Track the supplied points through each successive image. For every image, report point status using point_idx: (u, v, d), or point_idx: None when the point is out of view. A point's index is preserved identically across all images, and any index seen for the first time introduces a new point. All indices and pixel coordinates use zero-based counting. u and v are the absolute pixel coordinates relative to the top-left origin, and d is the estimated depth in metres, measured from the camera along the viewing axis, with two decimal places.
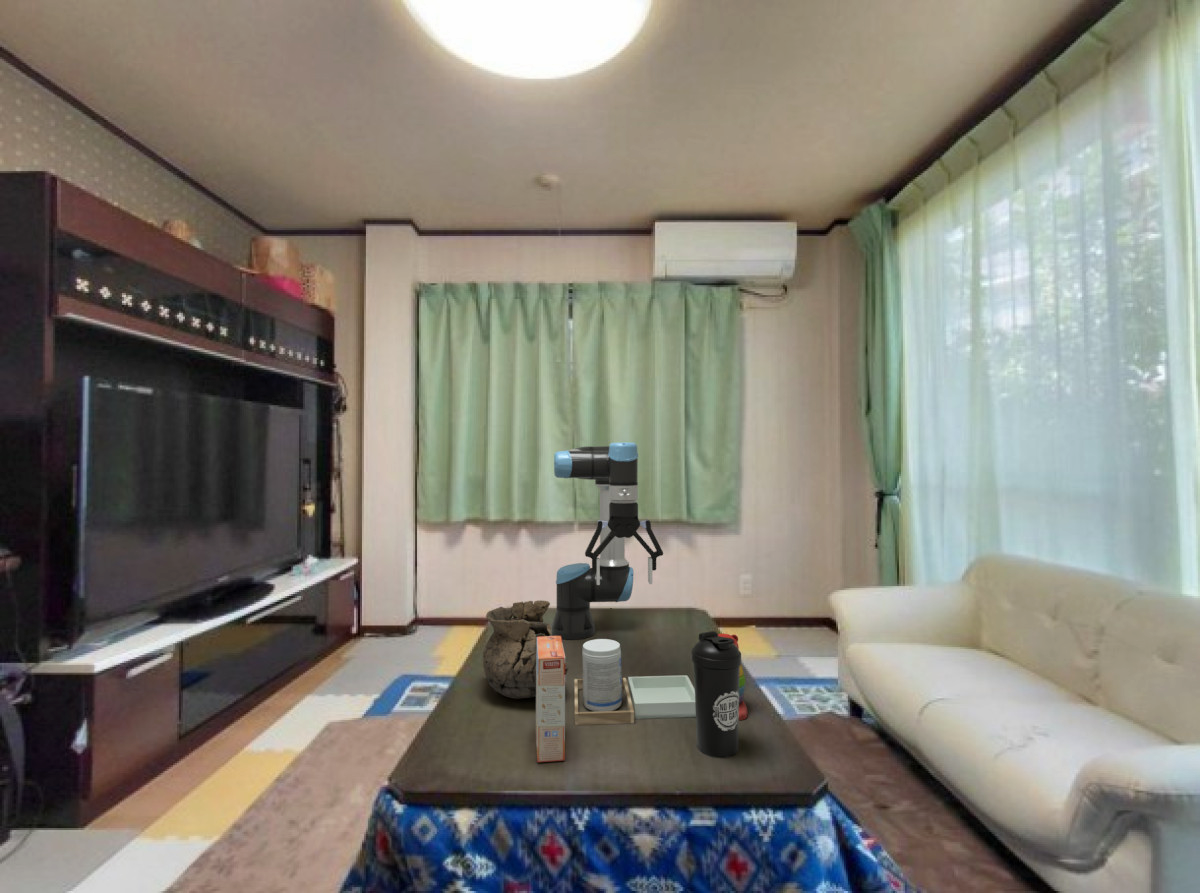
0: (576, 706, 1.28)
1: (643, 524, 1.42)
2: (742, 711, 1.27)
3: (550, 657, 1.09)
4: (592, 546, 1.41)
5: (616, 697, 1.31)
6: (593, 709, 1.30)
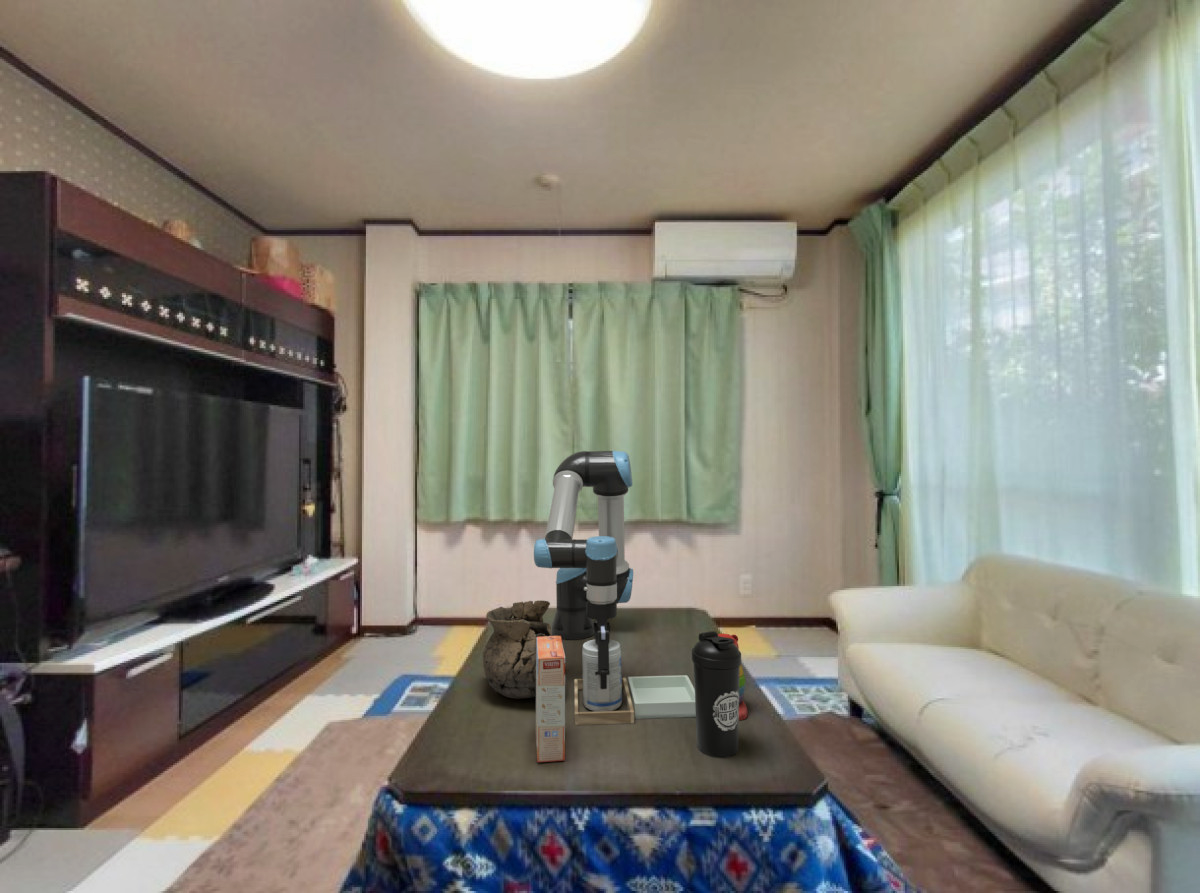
0: (576, 706, 1.28)
1: None
2: (742, 711, 1.27)
3: (550, 657, 1.09)
4: None
5: (616, 696, 1.31)
6: (593, 709, 1.30)
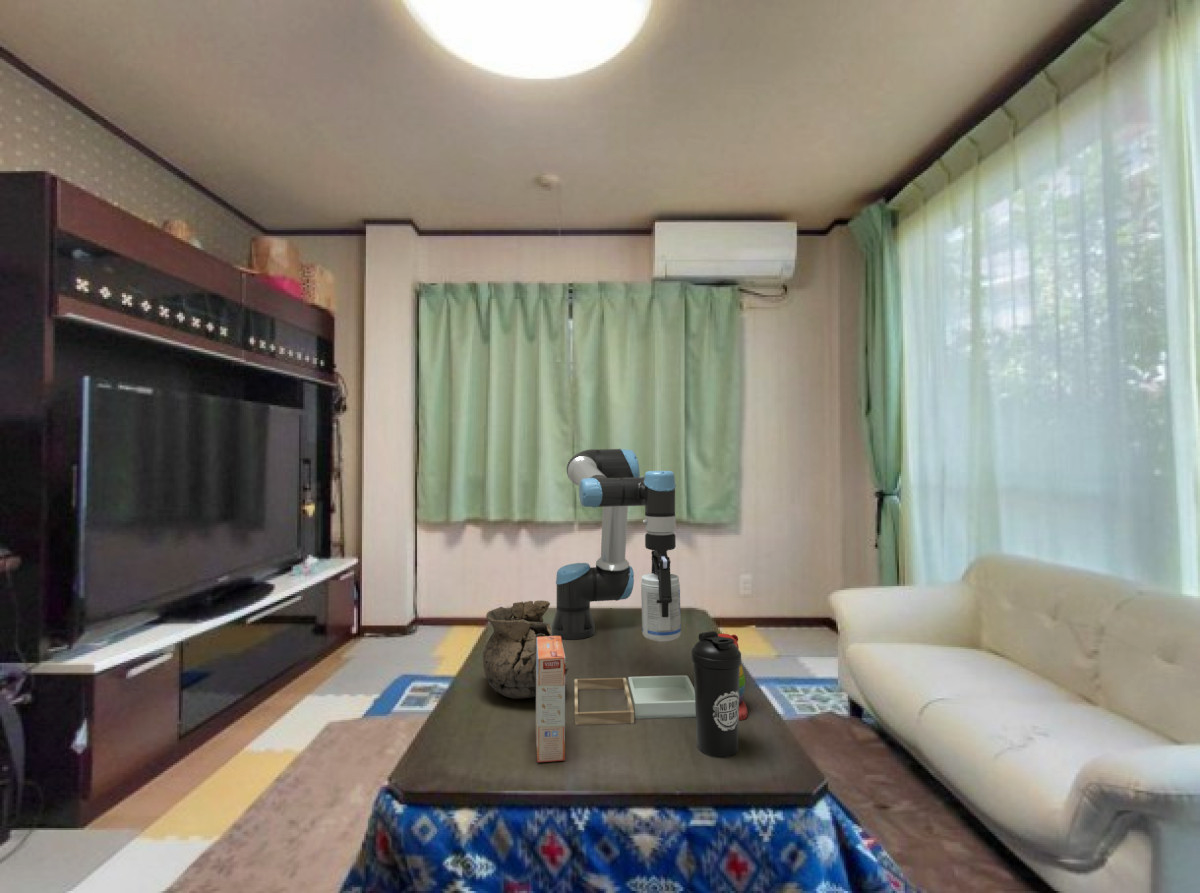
0: (576, 706, 1.28)
1: None
2: (742, 711, 1.27)
3: (550, 657, 1.09)
4: None
5: (676, 626, 1.32)
6: (654, 638, 1.31)
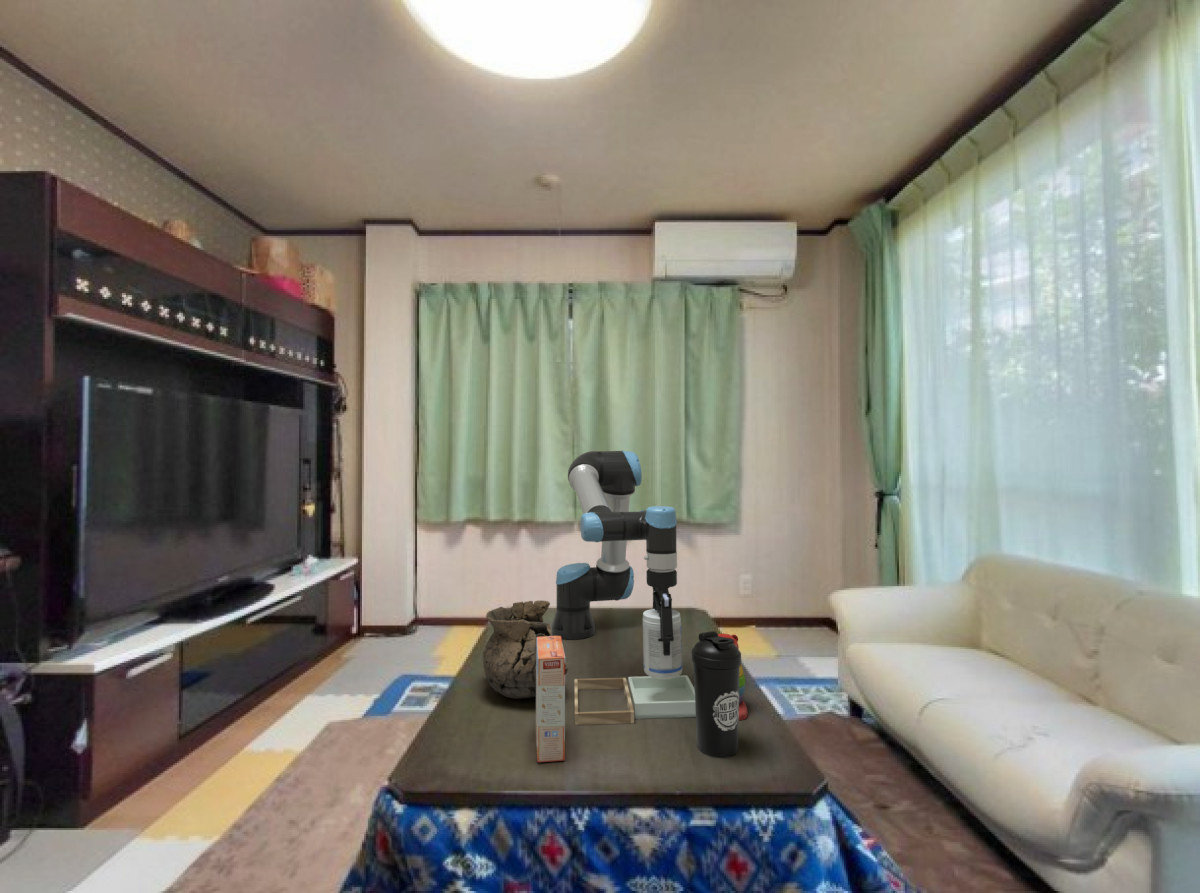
0: (576, 706, 1.28)
1: None
2: (742, 712, 1.27)
3: (550, 657, 1.09)
4: None
5: (677, 664, 1.32)
6: (655, 676, 1.31)
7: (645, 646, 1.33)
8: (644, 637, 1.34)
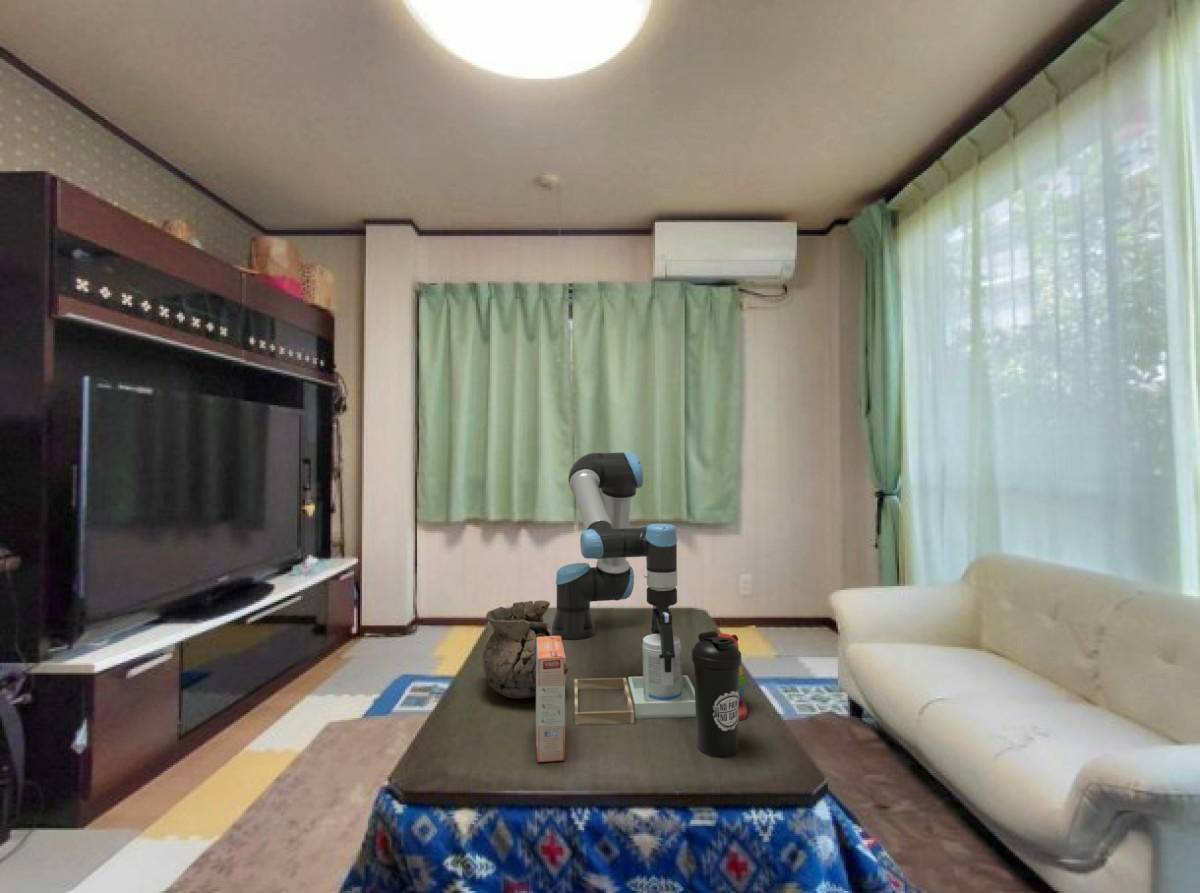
0: (576, 706, 1.28)
1: None
2: (742, 712, 1.27)
3: (550, 657, 1.09)
4: (652, 623, 1.43)
5: (677, 690, 1.32)
6: None
7: (645, 672, 1.34)
8: (644, 663, 1.34)
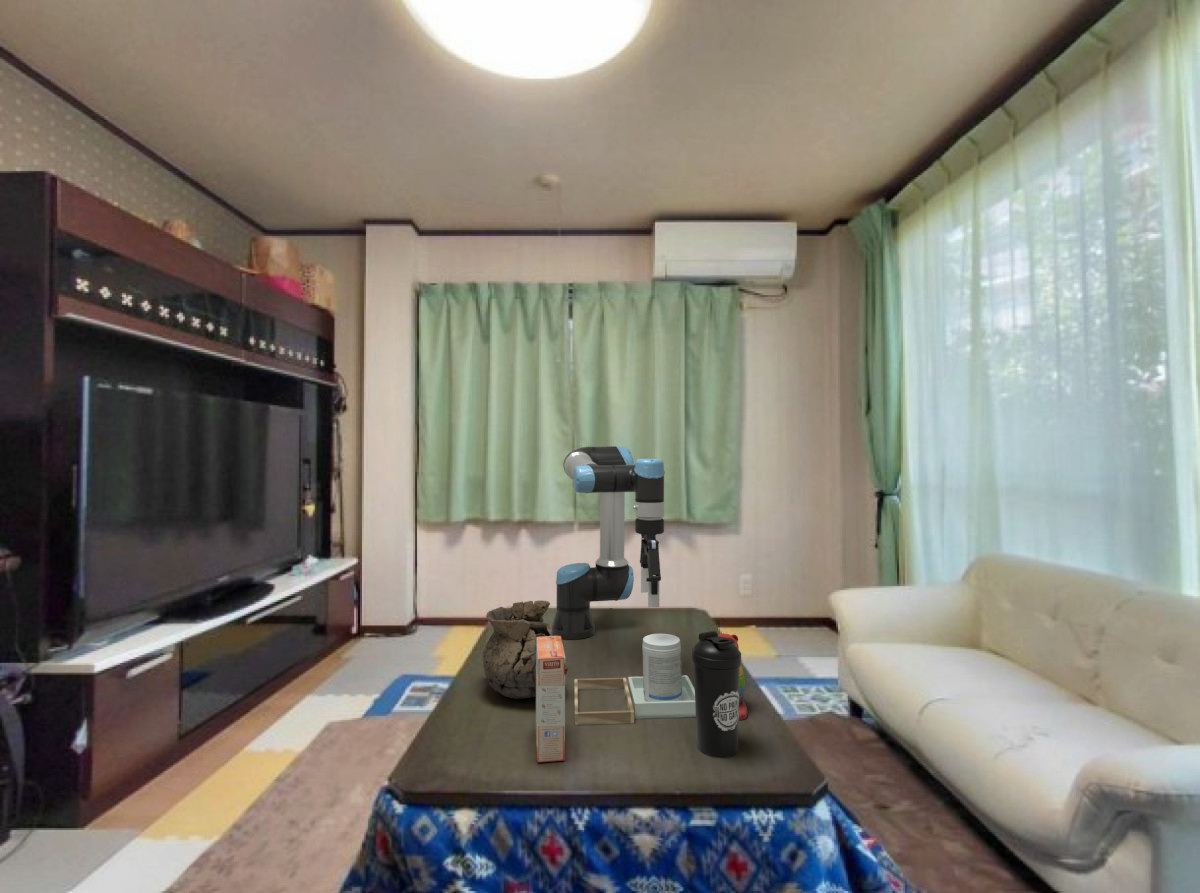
0: (576, 706, 1.28)
1: None
2: (742, 711, 1.27)
3: (550, 657, 1.09)
4: (640, 555, 1.51)
5: (677, 690, 1.32)
6: None
7: (645, 672, 1.34)
8: (644, 663, 1.34)
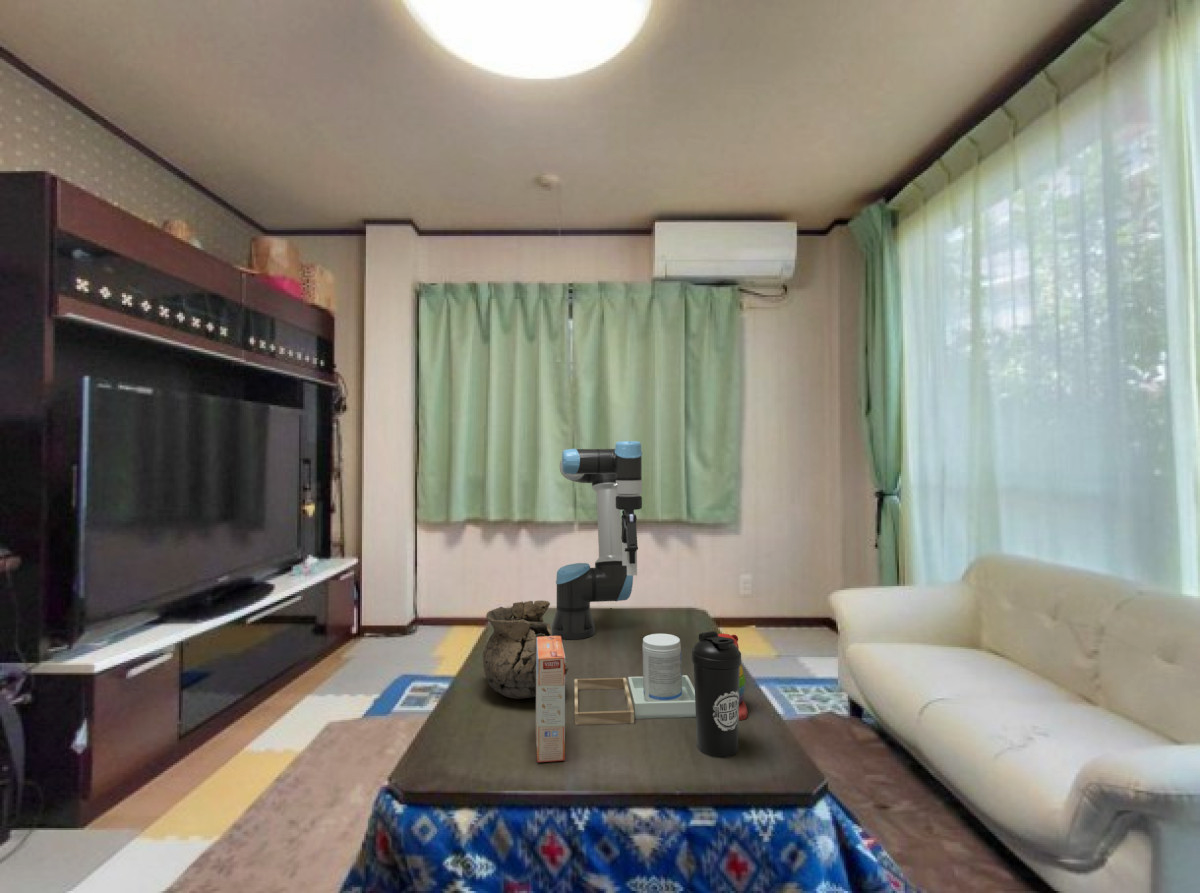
0: (576, 706, 1.28)
1: None
2: (742, 711, 1.27)
3: (550, 657, 1.09)
4: (622, 531, 1.64)
5: (677, 690, 1.32)
6: None
7: (645, 672, 1.34)
8: (644, 663, 1.34)
